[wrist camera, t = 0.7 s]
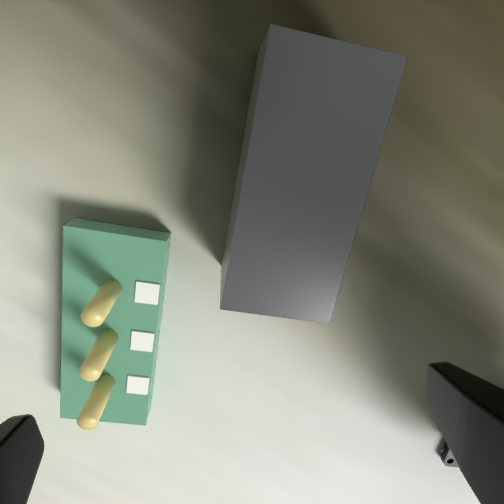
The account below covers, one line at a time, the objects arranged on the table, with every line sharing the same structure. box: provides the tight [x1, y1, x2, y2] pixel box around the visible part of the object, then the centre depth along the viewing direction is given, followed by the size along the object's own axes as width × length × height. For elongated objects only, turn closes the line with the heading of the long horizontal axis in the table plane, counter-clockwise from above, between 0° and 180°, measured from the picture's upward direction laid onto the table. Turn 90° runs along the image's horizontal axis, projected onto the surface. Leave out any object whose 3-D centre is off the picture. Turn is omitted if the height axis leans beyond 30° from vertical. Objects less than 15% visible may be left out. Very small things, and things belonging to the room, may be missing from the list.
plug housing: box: [220, 24, 408, 324], centre depth 17 cm, size 5×11×5 cm, turn 169°
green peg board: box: [60, 218, 171, 430], centre depth 19 cm, size 5×12×4 cm, turn 169°
